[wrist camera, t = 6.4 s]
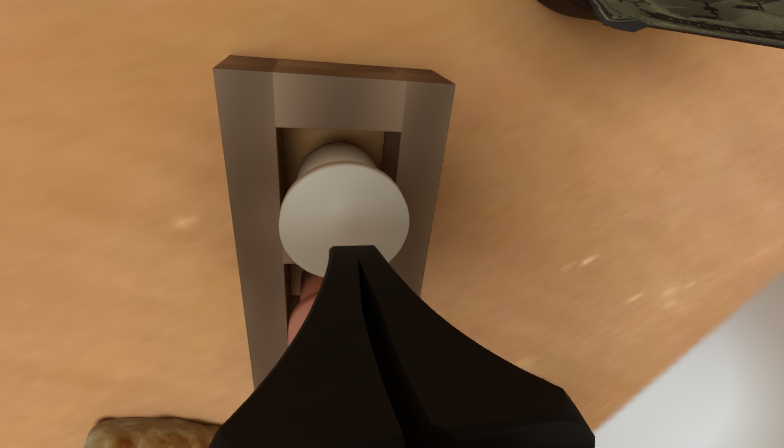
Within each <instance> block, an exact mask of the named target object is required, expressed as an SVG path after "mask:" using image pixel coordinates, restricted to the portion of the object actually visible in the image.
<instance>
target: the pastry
mask: <svg viewBox="0 0 784 448" xmlns="http://www.w3.org/2000/svg"><path fill="white" fill-rule="evenodd" d="M219 428H220V427H218V426H208V425H202V424H199V423H196V422H191V421H188V420H185V419H181V418H171V419H165V418H143V417H136V418H133V417H132V418H116V419H108V420H105V421H102V422H100V423H99V424H98V425H96V426H94V427H93V428H92V429H91V430H90V432H89V434H88V437H87V440H86V443H85V446H84V448H209V445H210V443H211V441H212V439H213V437H214V435H215V433H216V431H217V430H218V429H219Z"/></svg>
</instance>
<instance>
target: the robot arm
mask: <svg viewBox="0 0 784 448" xmlns="http://www.w3.org/2000/svg"><path fill="white" fill-rule="evenodd" d="M209 448H595V436H594V434H593V433H592V431H591V430H590V428H589V426H588V425H587V423H586V422H585V420H584V418H583V417H582V415H581V414H580V412H579V410H578V409H577V407H576V406H575V404H574V403H573V402H572V400H571V399H570V398H569V396H568V395H567V394H566V392H565V391H564V390H563V389H562V388H560V387H558V386H556V385H554V384H552V383H550V382H548V381H546V380H544V379H541V378H539V377H537V376H535V375H533V374H531V373H529V372H527V371H525V370H523V369H521V368H519V367H517V366H515V365H513V364H512V363H510V362H508V361H506V360H504V359H503V358H501V357H499V356H497V355H496V354H494V353H492V352H491V351H489V350H487V349H486V348H484V347H482V346H481V345H479V344H478V343H476V342H475V341H473V340H472V339H470V338H469V337H467V336H466V335H465V334H463V333H462V332H460V331H459V330H458V329H456V328H455V327H453V326H452V325H451V324H450V323H448V322H447V321H446V320H445V319H443V318H442V317H441V316H440V315H438V314H437V313H436V312H435V311H434V310H432V309H431V308H430V307H429V306H428V305H427V304H426V303H425V302H424V301H423V300H422V299H421V298H420V297H419V296H418V295H417V294H416V293H415V292H414V291H413V290H412V289H411V288H410V287H409V286H408V285H407V284H406V283H405V281H404V280H403V279H402V278H401V277H400V276H399V275H398V274H397V273H396V271H395V270H394V269H393V268H392V267H391V265H390V264H389V263H388V262H387V260H386V259H385V258H384V257H383V255H382V254H381V253H380V251H379V250H378V249H377V248H376V247H375V246H374V245H354V246H332V247H331V248H330V249H329V260H328V265H327V269H326V272H325V275H324V278H323V281H322V284H321V286H320V289H319V292H318V294H317V296H316V298H315V300H314V303H313V305H312V307H311V309H310V311H309V313H308V315H307V317H306V319H305V321H304V322H303V324H302V326H301V328H300V329H299V331H298V333H297V334H296V336H295V337H294V339H293V341H292V342H291V343H290V345H289V346H288V348H287V349H286V351H285V352H284V354H283V355H282V357H281V358H280V360H279V361H278V362H277V364H276V365H275V366H274V367H273V369H272V370H271V371H270V372H269V374H268V375H267V376H266V377H265V379H264V380H263V381H262V382H261V383H260V385H259V386H258V387H257V388H256V390H255V391H254V392H253V393H252V394H251V395H250V397H249V398H248V399H247V400H246V401H245V402H244V403H243V404H242V405H241V406H240V407H239V408H238V409H237V410H236V411H235V412H234V414H233V415H232V416H231V417H230V418H229V419H228V420H227V421H226V422H225V423H224V424H223V425H222V426H221V427H220V428H219V429H218V430H217V431H216V433H215V435H214V437H213V439H212V441H211V443H210V445H209Z"/></svg>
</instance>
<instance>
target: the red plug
mask: <svg viewBox="0 0 784 448" xmlns="http://www.w3.org/2000/svg"><path fill="white" fill-rule="evenodd" d="M323 278H324V277H320V276H317V275H314V274H312V273H310V272H308V271H306V270H305V269H304V270H303V272H302V275H301V286H300V303H299V304H298V305H297V306H296V307H295V309H294V310H293V312H292V314H291V316H290V320H289V329H288V340H289V344H290V343H291V342H292V341H293V339H294V337H295V336H296V334H297V333H298V331H299V329H300V328H301V326H302V324H303V322H304V321H305V319H306V317H307V315H308V313H309V311H310V309H311V307H312V305H313V303H314V300H315V298H316V296H317V294H318V292H319V289H320V286H321V284H322V281H323Z"/></svg>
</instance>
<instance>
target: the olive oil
mask: <svg viewBox="0 0 784 448" xmlns="http://www.w3.org/2000/svg"><path fill="white" fill-rule="evenodd" d="M539 1H540V2H541V3H543V4H544V5H545V6H547V7H548V8H550V9H552V10H554V11H556V12H558V13H561V14H563V15H567V16H571V17H576V18H582V19H589V20H597V21H599V22H603V23H602V24H603V25H606V24H607V25H608V26H610V27H612V28H614V29H619V30H623V31H629V32H635V31H638V30H641V29H644V28H646V27H650V28H657V29H663V30H670V31H676V32H682V33H688V34H695V35H701V36H707V37H713V38H719V39H725V40H732V41H738V42H744V43H750V44H756V45H762V46H769V47H775V48H781V49H784V0H539ZM607 25H606V27H607Z"/></svg>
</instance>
